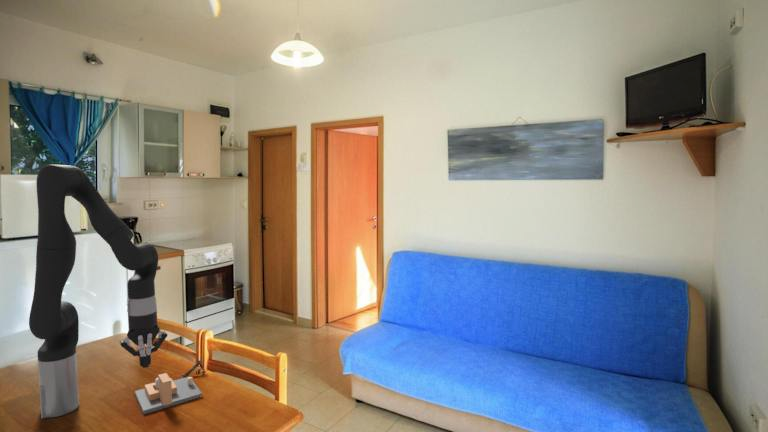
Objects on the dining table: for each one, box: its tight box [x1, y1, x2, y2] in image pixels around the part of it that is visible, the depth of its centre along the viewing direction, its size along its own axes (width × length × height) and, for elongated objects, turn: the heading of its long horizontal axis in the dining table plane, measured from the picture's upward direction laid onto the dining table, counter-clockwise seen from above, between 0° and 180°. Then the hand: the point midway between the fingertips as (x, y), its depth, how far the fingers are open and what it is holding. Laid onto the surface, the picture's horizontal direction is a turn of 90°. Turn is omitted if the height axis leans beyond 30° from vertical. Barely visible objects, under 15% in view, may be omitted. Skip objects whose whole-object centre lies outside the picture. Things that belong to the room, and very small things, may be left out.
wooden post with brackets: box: [181, 359, 205, 378], centre depth 155 cm, size 2×8×4 cm, turn 147°
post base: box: [134, 375, 203, 415], centre depth 139 cm, size 17×15×6 cm
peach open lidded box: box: [144, 372, 177, 406], centre depth 136 cm, size 14×8×8 cm, turn 39°
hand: (145, 366), depth 128 cm, fingers closed
